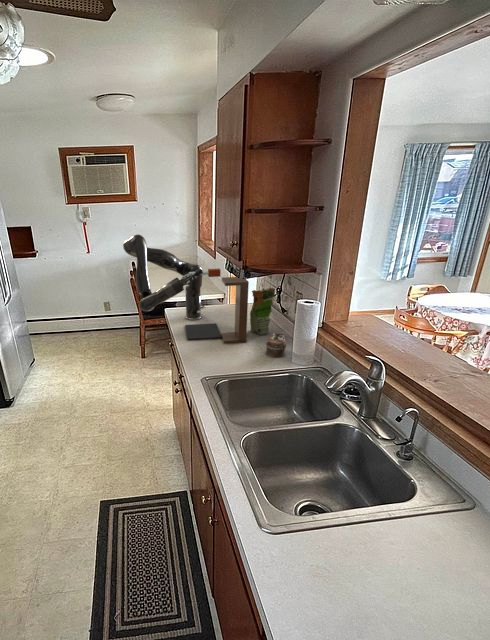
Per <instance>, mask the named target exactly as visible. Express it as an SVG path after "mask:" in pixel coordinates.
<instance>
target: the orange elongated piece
mask: <svg viewBox="0 0 490 640" xmlns="http://www.w3.org/2000/svg"><path fill="white" fill-rule="evenodd" d="M221 271H222V270H221V268H207V271H203V273H202V274H200V275H202V276H208V278H219V277H221ZM193 273H195V272H189V275H192V274H193Z"/></svg>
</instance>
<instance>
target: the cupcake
mask: <svg viewBox="0 0 490 640" xmlns="http://www.w3.org/2000/svg"><path fill="white" fill-rule="evenodd" d="M286 341H287V340H286V339H285V334H283V333H276V332H274V333H272V335H271V336H270V337H269V338H268V339H267V342H266V343H265V348H266V354H267V356H269V357H272V358H281V357H283V356H284V354H285V350H286V348H287V342H286Z"/></svg>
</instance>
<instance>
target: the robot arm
mask: <svg viewBox="0 0 490 640" xmlns="http://www.w3.org/2000/svg"><path fill="white" fill-rule="evenodd" d="M122 247H123V250H124V252H125V254H127V255H129V256H131V257H134V258H136V270H135V284H136V290H137V293H138V294H139V297H140V301H139V303H138V304H139V305H138V306H139V308H140V310H141V311H143V312H151V311H153V310H154V309H155V307H156V306H158V305H159V304H162V303H165V302H166V301H168V300H170V299H171V298H173V297H176V296H178V295H179V294H180V293H181V292H184V291H185V318H186V320H189V321H196V320H200V319H202V309H203V308H205V305H204V304H203V303H202V297H201V295H202V293H201V291H202V290H201V289H202V285H203V275H200V274H202V273H203V272H204V271H203V269H202V267H201V265H200V264H195V263H191V262H187V261H184V260H181V259H180V258H178V257H177V256H176V255H175V254H173V253H172V252H170V251H168V250H165V249H162V248H157V247H156V248H155V247H148V246H147V241H146V239H145V237H144V236H143V235H141V234H135V235H131V237H128V238H127V239H126V240H125V241H124V242H123V245H122ZM148 262H149V263H151V264H153V265H156V266H158V267H159V268H162V269H165V270H167V271H170V272H175V273H176V274H178V275H180V276H182V277H181V279H179V277H175V278H173V279H172V280H170V281H168V282H167V283H166V284H164V285H163V286H161V287H160V288H158V289H156V291H154V292H152V288H151V283H150V278H149V277H150V276H149V271H148ZM189 272H195V273H193V274H192V275H189ZM184 286H185V287H184Z"/></svg>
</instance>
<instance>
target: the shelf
mask: <svg viewBox="0 0 490 640" xmlns="http://www.w3.org/2000/svg"><path fill="white" fill-rule="evenodd" d="M238 277H239V276H226V277H224V276H223V277H221V282H222V284H223V285H224V287H235V300H234V301H235V302H234V303H235V306H234V307H235V308H234V310H235V311H234V331H232V332H229V331H227V332H220V335H221V339H222V341H223V344H243V343H247V329H248V309H249V307H248V305H249V304H248V303H249V284H250V282H249V280H248V279H247V278H246V277H245V279H241V278H238Z"/></svg>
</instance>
